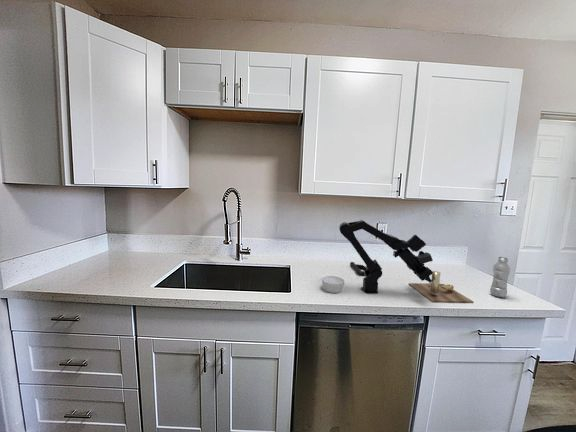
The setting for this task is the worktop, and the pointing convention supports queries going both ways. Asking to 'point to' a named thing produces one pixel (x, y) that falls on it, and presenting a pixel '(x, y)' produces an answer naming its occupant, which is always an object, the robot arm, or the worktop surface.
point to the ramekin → (332, 284)
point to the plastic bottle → (500, 278)
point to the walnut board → (440, 294)
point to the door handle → (358, 268)
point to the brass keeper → (448, 288)
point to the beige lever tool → (434, 282)
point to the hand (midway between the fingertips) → (430, 281)
